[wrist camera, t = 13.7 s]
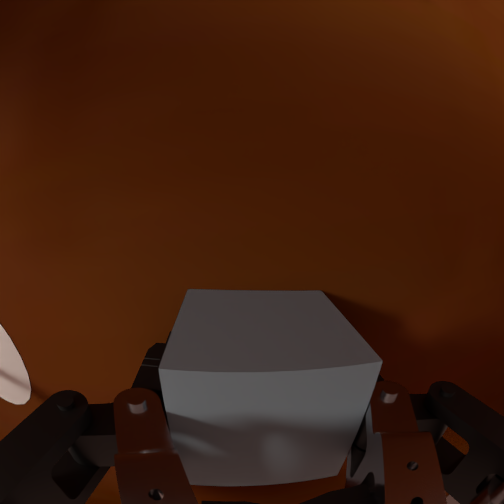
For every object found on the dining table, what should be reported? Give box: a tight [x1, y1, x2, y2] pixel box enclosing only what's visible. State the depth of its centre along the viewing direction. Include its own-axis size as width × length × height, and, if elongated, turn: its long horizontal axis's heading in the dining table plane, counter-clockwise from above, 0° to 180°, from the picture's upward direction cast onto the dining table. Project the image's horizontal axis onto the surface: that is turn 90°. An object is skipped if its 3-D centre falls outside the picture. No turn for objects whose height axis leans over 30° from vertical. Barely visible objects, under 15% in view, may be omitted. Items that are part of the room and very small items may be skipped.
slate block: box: [158, 289, 383, 486], centre depth 8 cm, size 5×5×5 cm
